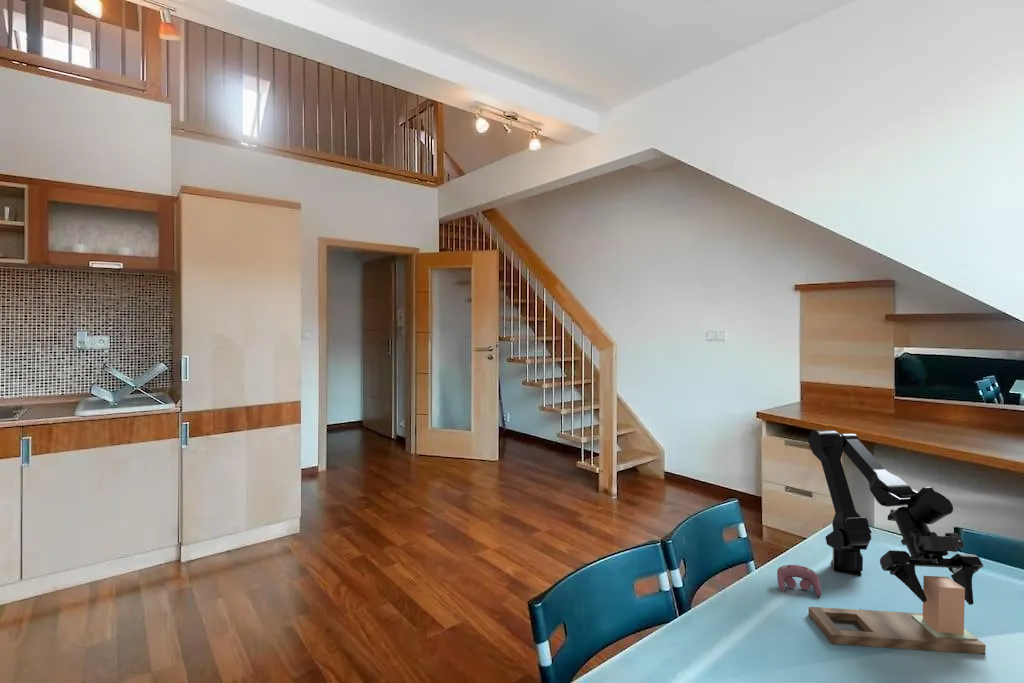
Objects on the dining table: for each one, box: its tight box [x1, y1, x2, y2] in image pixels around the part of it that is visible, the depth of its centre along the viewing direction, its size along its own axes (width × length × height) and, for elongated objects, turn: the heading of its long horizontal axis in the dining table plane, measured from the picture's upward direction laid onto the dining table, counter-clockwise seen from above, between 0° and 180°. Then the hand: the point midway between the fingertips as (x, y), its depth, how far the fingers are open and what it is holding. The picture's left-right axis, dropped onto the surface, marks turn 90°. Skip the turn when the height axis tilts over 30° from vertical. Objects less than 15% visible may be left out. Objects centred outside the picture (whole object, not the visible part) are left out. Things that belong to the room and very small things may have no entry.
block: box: [922, 575, 966, 634], centre depth 111 cm, size 5×5×10 cm
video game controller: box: [776, 564, 822, 598], centre depth 132 cm, size 10×5×7 cm, turn 72°
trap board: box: [808, 606, 986, 654], centre depth 113 cm, size 30×11×2 cm, turn 83°
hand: (948, 603), depth 110 cm, fingers open, 9 cm apart
